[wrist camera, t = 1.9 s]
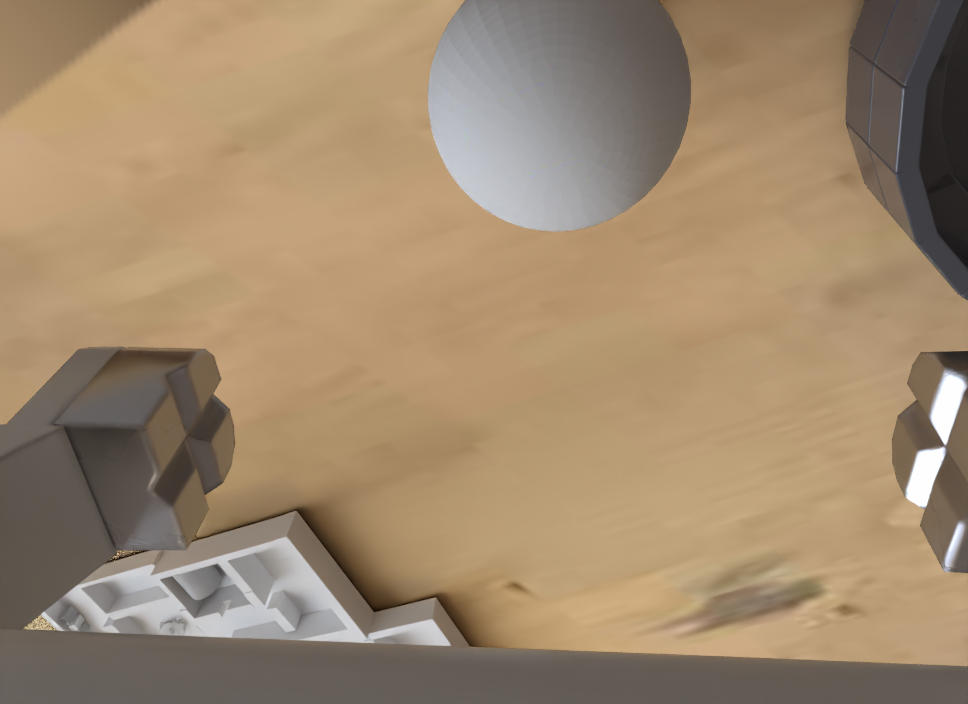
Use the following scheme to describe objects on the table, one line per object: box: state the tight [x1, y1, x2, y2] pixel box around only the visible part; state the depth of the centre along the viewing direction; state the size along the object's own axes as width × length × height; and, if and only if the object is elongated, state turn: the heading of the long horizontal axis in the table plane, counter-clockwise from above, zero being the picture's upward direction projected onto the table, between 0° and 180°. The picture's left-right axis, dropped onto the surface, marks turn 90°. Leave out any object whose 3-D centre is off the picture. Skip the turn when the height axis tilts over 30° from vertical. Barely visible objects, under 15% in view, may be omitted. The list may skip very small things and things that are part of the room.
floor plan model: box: [40, 511, 470, 647], centre depth 40 cm, size 19×25×2 cm
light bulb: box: [428, 0, 691, 231], centre depth 20 cm, size 6×6×10 cm
